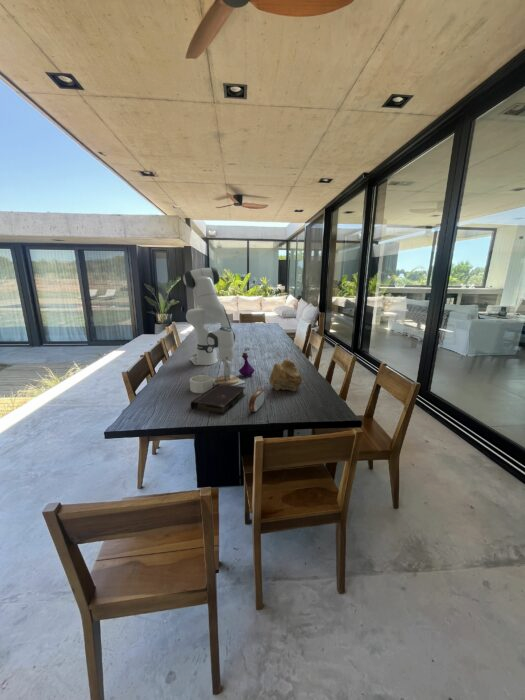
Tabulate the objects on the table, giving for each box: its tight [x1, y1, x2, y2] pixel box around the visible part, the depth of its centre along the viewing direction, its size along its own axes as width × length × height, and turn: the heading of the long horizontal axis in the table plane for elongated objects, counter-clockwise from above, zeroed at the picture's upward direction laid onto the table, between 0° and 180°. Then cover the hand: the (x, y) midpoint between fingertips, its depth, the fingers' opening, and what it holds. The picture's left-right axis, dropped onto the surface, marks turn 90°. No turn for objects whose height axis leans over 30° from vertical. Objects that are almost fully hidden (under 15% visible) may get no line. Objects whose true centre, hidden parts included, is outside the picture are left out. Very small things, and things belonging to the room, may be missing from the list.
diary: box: [190, 384, 247, 416], centre depth 148 cm, size 19×25×5 cm
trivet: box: [213, 374, 247, 386], centre depth 175 cm, size 16×16×1 cm
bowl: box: [189, 374, 214, 394], centre depth 164 cm, size 12×12×6 cm
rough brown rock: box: [269, 358, 303, 392], centre depth 165 cm, size 23×17×15 cm
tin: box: [248, 388, 266, 412], centre depth 141 cm, size 15×3×8 cm, turn 158°
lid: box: [214, 374, 240, 385], centre depth 175 cm, size 14×14×5 cm
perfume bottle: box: [238, 347, 255, 378], centre depth 185 cm, size 8×8×18 cm
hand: (227, 377), depth 175 cm, fingers open, 5 cm apart
